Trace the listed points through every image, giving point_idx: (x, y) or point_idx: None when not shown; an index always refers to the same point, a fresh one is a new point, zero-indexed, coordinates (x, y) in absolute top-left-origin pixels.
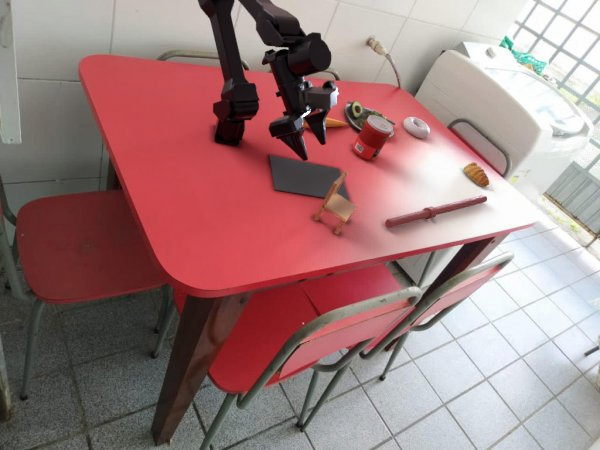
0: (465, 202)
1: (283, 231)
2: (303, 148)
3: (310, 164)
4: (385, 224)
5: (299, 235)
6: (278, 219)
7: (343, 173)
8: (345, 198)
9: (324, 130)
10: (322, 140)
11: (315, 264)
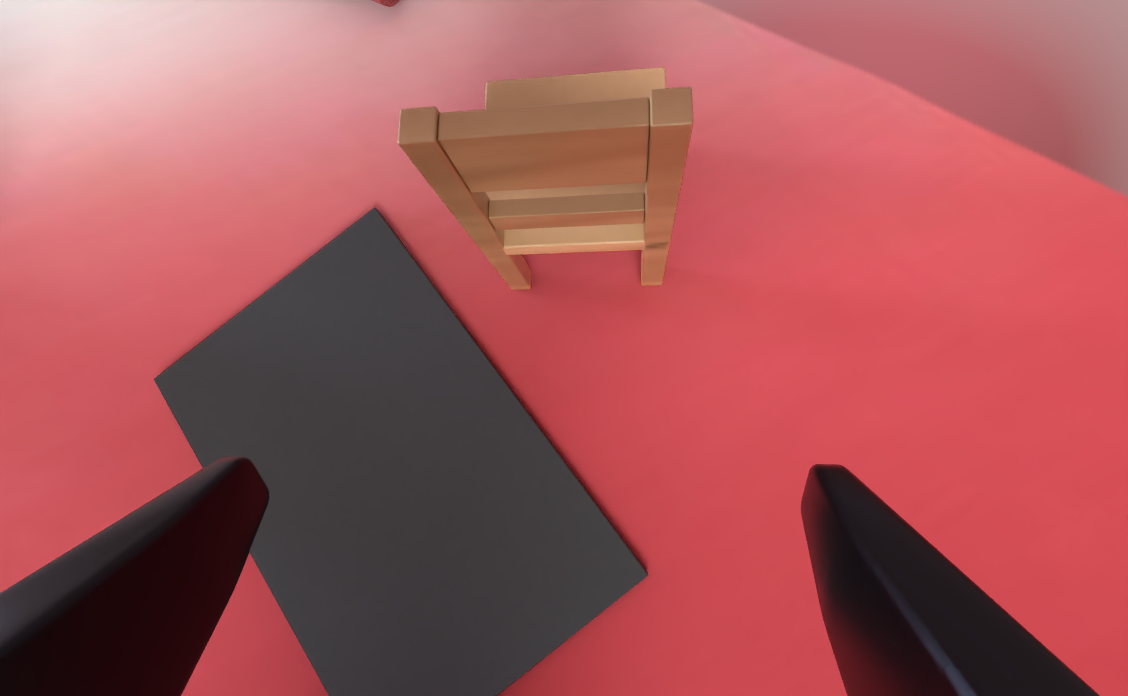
0: None
1: (898, 357)
2: (1051, 653)
3: None
4: (395, 3)
5: (842, 280)
6: (843, 426)
7: (455, 133)
8: (369, 235)
9: (19, 611)
10: (219, 520)
11: (943, 128)
